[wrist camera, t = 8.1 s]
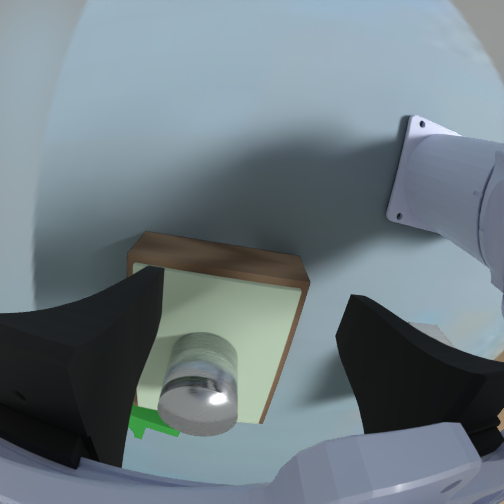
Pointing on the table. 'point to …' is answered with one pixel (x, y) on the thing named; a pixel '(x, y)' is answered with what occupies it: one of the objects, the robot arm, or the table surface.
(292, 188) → the table surface
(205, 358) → the grey metal cylinder
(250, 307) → the walnut stand
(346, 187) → the table surface
